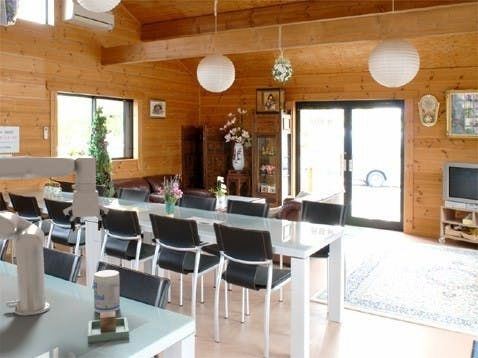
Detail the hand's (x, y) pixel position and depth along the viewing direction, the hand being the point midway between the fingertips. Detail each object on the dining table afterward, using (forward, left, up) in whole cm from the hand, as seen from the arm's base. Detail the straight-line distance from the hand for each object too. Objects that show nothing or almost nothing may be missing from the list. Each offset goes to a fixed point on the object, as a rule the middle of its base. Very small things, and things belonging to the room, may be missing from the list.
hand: (86, 230), depth 188 cm
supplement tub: (+7, -9, -30) cm, 32 cm away
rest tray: (+7, -32, -30) cm, 44 cm away
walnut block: (+7, -32, -30) cm, 44 cm away
